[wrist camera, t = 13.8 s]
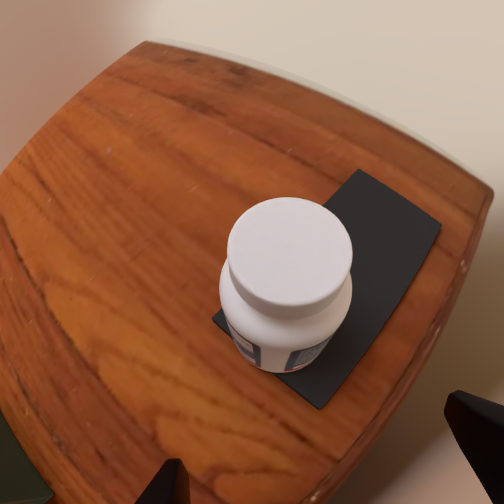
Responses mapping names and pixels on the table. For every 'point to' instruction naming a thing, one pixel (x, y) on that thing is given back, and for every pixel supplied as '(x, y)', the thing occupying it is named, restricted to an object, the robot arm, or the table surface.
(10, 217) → the table surface
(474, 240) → the table surface
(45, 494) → the green square box
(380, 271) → the mat
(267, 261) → the pill bottle
